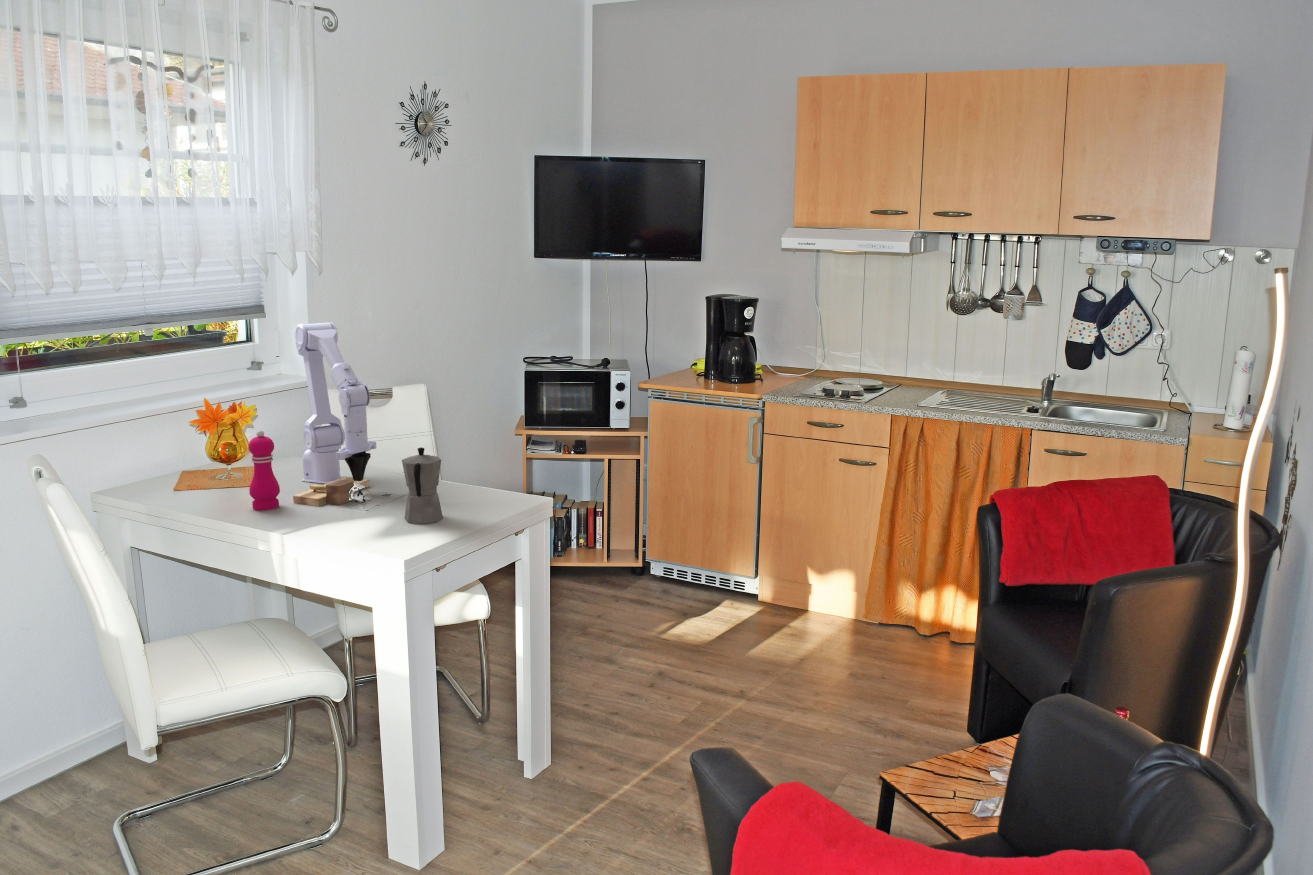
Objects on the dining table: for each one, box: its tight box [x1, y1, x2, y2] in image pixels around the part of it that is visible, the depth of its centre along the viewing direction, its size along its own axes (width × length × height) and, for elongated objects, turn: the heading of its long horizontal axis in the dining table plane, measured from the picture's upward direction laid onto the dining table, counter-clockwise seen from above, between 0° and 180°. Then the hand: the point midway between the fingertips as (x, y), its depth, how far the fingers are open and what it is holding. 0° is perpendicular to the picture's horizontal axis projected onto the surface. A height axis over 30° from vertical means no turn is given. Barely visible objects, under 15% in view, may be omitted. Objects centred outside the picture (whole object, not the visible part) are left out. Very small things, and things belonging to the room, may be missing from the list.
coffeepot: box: [401, 447, 444, 525], centre depth 237 cm, size 15×9×18 cm, turn 6°
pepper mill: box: [248, 429, 281, 512], centre depth 246 cm, size 7×7×20 cm
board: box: [292, 476, 370, 507], centre depth 261 cm, size 8×21×2 cm, turn 161°
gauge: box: [309, 479, 354, 506], centre depth 255 cm, size 11×6×5 cm, turn 71°
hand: (358, 480), depth 261 cm, fingers closed
